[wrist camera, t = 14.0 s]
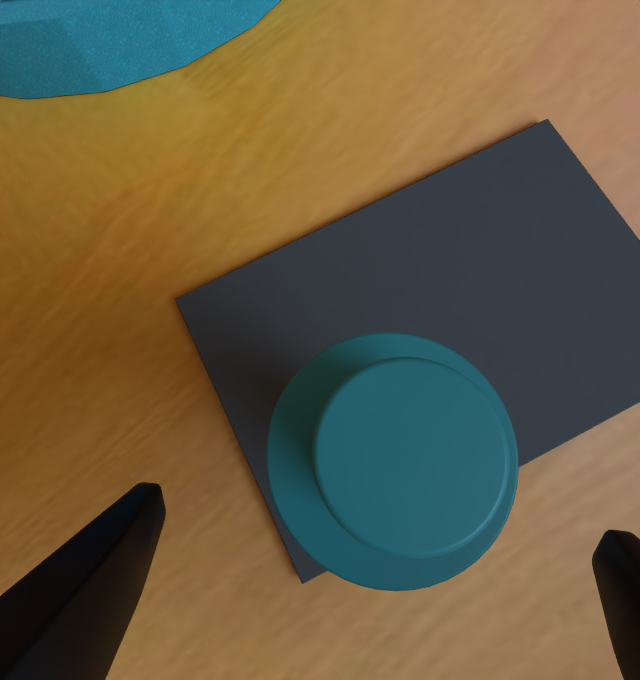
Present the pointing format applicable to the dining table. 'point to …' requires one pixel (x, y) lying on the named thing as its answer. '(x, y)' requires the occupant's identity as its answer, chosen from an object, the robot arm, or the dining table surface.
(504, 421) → the teal capped bottle
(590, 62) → the dining table surface
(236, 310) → the mat
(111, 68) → the teal oval tray
